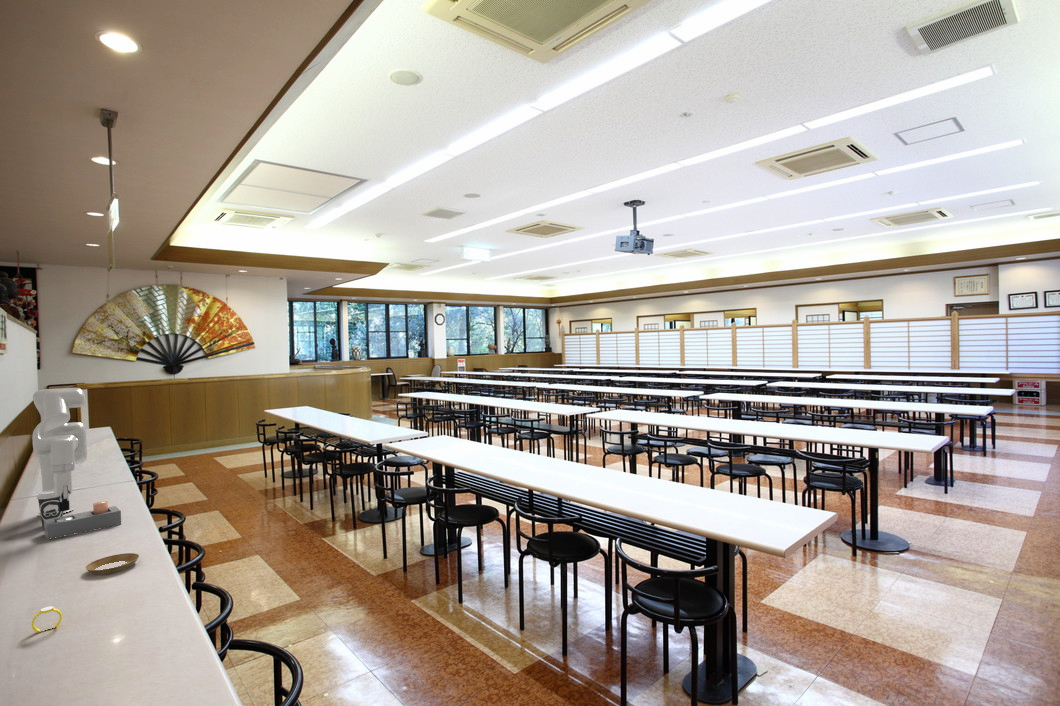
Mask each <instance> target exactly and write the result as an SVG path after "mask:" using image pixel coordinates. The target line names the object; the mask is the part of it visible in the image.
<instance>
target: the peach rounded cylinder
mask: <svg viewBox="0 0 1060 706" xmlns="http://www.w3.org/2000/svg"><path fill="white" fill-rule="evenodd" d="M92 504H93V505H92V507H93V509H92V511H93V513H94V515H96V514H101V513H106V512H108V507H109V503H108V500H101V501H96V502H94V503H92Z"/></svg>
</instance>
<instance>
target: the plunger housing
mask: <svg viewBox="0 0 1060 706" xmlns="http://www.w3.org/2000/svg"><path fill="white" fill-rule="evenodd" d="M66 517H73V519H71V520H65V521H60V522H57V520H58V519H61V518H66ZM119 524H120V525H122V510H121V509H119V508H118V507H117V506H115V505H114V506H108V512H106V513H101V514H96V515H94V513H93V510H89V511H82V512H78V513H73V514H68V515H63V516H62V517H57V518H52V519H46V520H44V527H43V530H44V531H43V535H44V534H45V535H44V536H45V538H46V537H47V538H46V539H47V540H48V539H50V538H55V537H60V536H64V535H69V536H71V535H70V534H74V533H78V534H81V533H80V532H83V533H86V532H85V531H87V532H91V531H90V530H92V531H95V530H94V529H97V530H100V529H99V528H101V529H105V528H104V527H106V528H110V527H109V526H111V527H114V525H115V526H119ZM74 535H75V534H74ZM64 537H65V536H64ZM60 538H61V537H60ZM55 539H56V538H55Z"/></svg>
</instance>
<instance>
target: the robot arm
mask: <svg viewBox="0 0 1060 706" xmlns="http://www.w3.org/2000/svg"><path fill="white" fill-rule="evenodd" d="M32 399H33V403H34V406H35V408H36V409H37V411H38V413H39V415H40V422H39V423H38V424H37V426H36V427H35V428H34V429H33V432H32V437H31V439H32V448H33V449H32V450H33V452H34V453H35V454H36V455H37V456H38V457H37V458H38V463H39V466H40V474H41V490H42V491H41V492H43V491H47V490H54V494H55V495H56V496H57V497H58V496H59V501H60V502H59V511H60V512H61V511H63V513H65V514H67V513H66V512H68V513H70V512H69V511H71V512H73V511H74V510H75V507H74V506H70V495H71V494H72V493H73V489H72V487H73V482H72V480H73V479H72V471H75V470H76V465H79V464H82V463H85V462H86V461H87V457H88V443H87V442H88V441H87V430H86V426H85V424H84V423H82V422H81V421H80V422H79V421H78V422H76V421H75V422H74V421H73V422H69V421H70V419H71V413H70V409H72V408H73V409H74V408H76V409H77V408H82V407H84V405H85V404H86V394H85V392H84V390H83V389H81V388H80V387H64V388H63V387H62V388H46V389H39V390H37V391H35V392H34V393H33V394H32ZM73 509H74V510H73ZM72 510H73V511H72ZM38 517H41V515H40V511H39V512H38Z"/></svg>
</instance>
